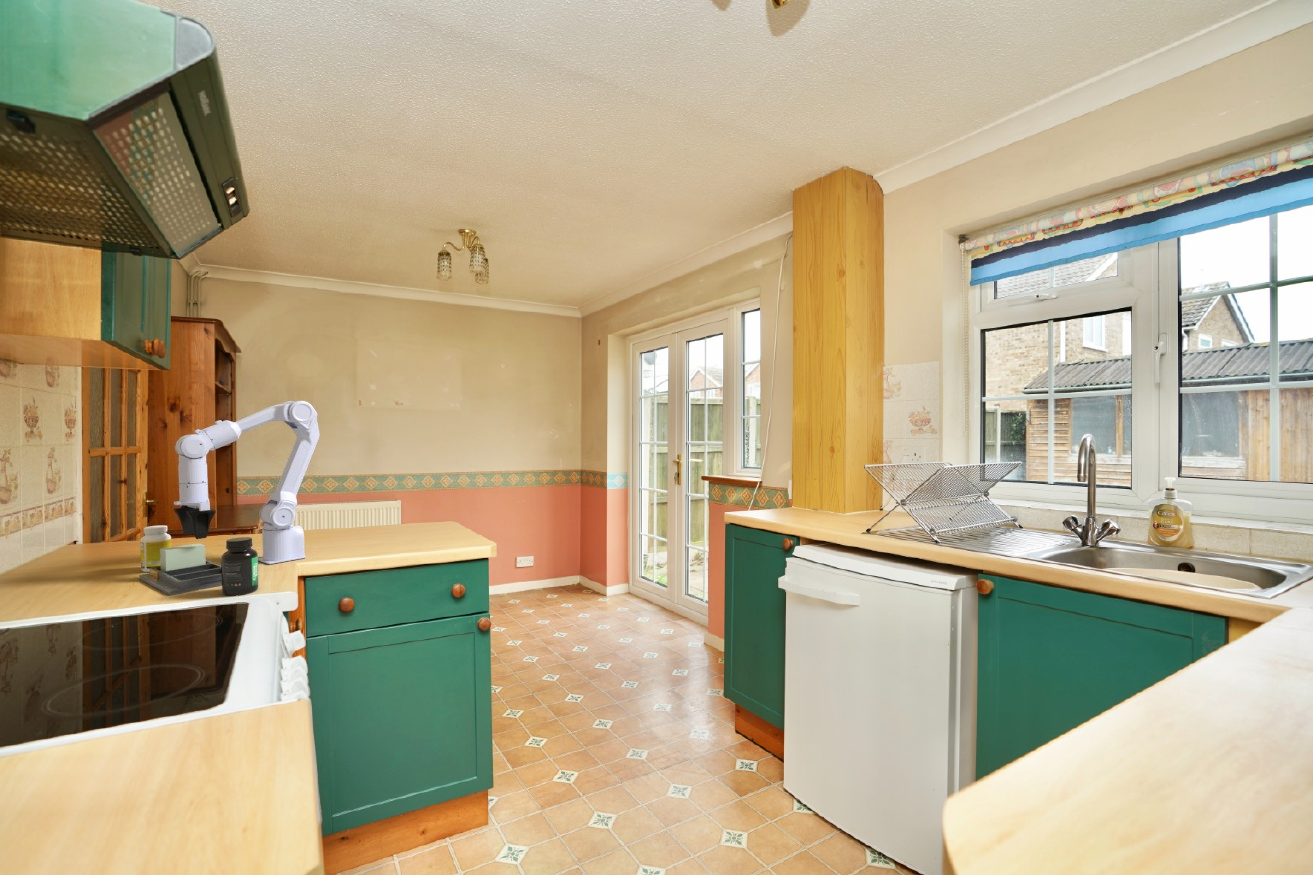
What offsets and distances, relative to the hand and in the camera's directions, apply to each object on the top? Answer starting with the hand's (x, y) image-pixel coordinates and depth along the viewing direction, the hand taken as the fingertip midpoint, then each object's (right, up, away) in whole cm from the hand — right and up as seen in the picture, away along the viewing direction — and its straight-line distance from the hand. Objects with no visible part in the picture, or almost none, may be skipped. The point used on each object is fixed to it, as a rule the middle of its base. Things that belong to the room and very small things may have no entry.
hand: (195, 536), depth 152 cm
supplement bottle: (+22, -10, -15) cm, 28 cm away
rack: (+4, -10, -6) cm, 12 cm away
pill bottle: (-13, -9, +4) cm, 16 cm away
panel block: (-2, -8, -2) cm, 9 cm away
